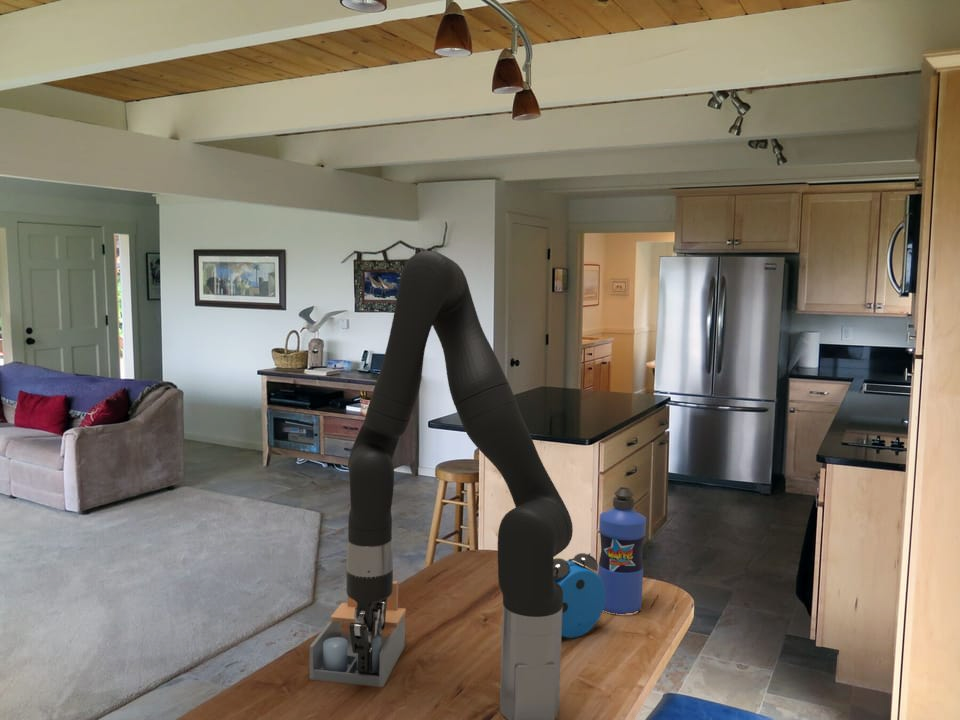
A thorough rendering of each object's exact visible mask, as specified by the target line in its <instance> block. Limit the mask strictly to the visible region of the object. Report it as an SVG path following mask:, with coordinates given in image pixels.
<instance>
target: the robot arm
mask: <svg viewBox="0 0 960 720" xmlns="http://www.w3.org/2000/svg"><path fill="white" fill-rule="evenodd" d="M468 283H469V282H468V280H467V276H466V275H465V272H464V271H463V269H462V268H461V267H460V265H459V264H458V263H456V262H455V261H454V260H453V259H451V258H450V257H447V256H445V255H444V254H442V253H441V252H437V251H433V250H423V251H419V252H417V253H415V254H413V255H412V256H411V257H409V259H408V260H407V261H406V262H405V263H404V265H403V267H402V271H401V274H400V278H399V282H398V286H397V287H398V288H397V293H396V294H397V295H396V300H395V306H394V312H393V318H392V322H391V327H390V332H389V337H388V342H387V344H386V345H387V346H386V348H385V349H386V350H385V353H384V357H383V360H382V363H381V365H380V366H381V367H380V370H379V373H378V375H377V380H376V382H375V385H374V388H373V391H372V394H371V397H370V400H369V402H368V406H367V408H366V413H365V417H364V420H363V423H362V425H361V427H360V429H359V431H358V433H357V436H356V438H355V441H353V442H354V443H353V446H352V448H351V451H350V454H349V458H348V462H347V463H348V464H347V468H348V469H347V470H348V473H349V493H350V496H349V498H350V509H349V512H348V520H347V521H348V523H347V524H348V527H347V529H348V534H347V536H348V538H347V539H348V543H347V549H346V595H347V597H348V596H349V597H350V598H351V599H353V600H355V601H356V602H357V604H358V605H357V607H356V608H355V613H354V618H355V623H349V626H348V628H349V633H350V636H351V643H352V650H353V653H358V672H359V673H361V674H370V673H371V671H372V651H373V638H374V637H376V635H379V636H380V637H381V636H383V632H382V631H384V630H385V628H386V626H385V617H386V607H387V599H388V597H389V596H390V595H391V594H392V591H393V581H394V580H393V579H394V576H393V575H394V549H393V543H392V542H393V541H392V538H393V537H392V532H393V529H392V528H393V520H392V519H393V518H392V506H393V505H392V504H393V496H394V487H395V485H394V484H395V469H394V464H393V458H394V454H395V452H396V449H397V446H398V443H399V440H400V438H401V436H403V435H404V434H405V432H406V430H407V428H408V426H409V423H410V420H411V417H412V414H413V412H414V409H415V405H416V403H417V399H418V396H419V392H420V387H421V383H422V376H423V374H422V373H423V366H424V357H425V351H426V346H427V342H428V338H429V336H430V333H431V329H432V327H433V329H434V332H435V334H436V335H437V337H438V340H439V342H440V346H441V348H442V351H443V355H444V362H445V370H446V377H447V384H448V388H449V393H450V395H451V399H452V401H453V405H454V407H455V409H456V412H457V414H458V417H459V419H460V422H461V424H462V426H463V429H464V431H465V432H466V435H467V436H468V438H469V439H470V440H471V442H472V443H473V444H474V446H475V447H476V448H477V449H478V450H479V451H480V452H481V453H482V454H483V456H485V457H486V458H487V459H488V460H489V461H490V462H491V464H492V465H493V466H494V467H495V468H496V470H498V472H499V474H500V475H501V477H502V478H503V480H504V482H505V484H506V486H507V488H508V490H509V492H510V496H511V498H512V500H513V503H514V506H515V507H514V508H513V509H511V510H509V511H508V512H507V513H506V514H505V515H504V516H503V518H502V519H501V521H500V524H499V527H498V533H497V580H498V585H499V589H500V591H501V594H502V619H501V620H502V621H501V653H500V654H501V655H500V684H499V685H500V692H499V693H500V694H499V695H500V696H499V697H500V698H499V710H500V713H501V714H502V716H503V717H505V719H507V720H555V719H557V717H558V716H559V712H560V691H561V690H560V689H561V687H560V686H561V658H562V657H561V656H562V637H563V636H562V611H563V591H562V588H561V586H560V585H559V584H558V583H557V582H555V581H553V559H554V558H555V557H557V555H559V554H560V553H562V552H563V551H564V550H565V549H566V548H568V546H569V545H570V544H571V541H572V537H573V531H574V530H573V529H574V528H573V527H574V526H573V521H572V518H571V514H570V513H569V511H568V510H569V509H568V508H567V506H566V504H565V502H564V501H563V499H562V497H561V495H560V493H559V491H558V489H557V487H556V485H555V484H554V482H553V481H552V478H551V477H550V475H549V474H548V471H547V469H546V467H545V466H544V464H543V462H542V459H541V457H540V455H539V453H538V450H537V448H536V445H535V443H534V441H533V439H532V436H531V433H530V431H529V430H528V427H527V425H526V422H525V420H524V418H523V416H522V412H521V409H520V407H519V405H518V402H517V400H516V398H515V395H514V392H513V390H512V388H511V385H510V382H509V381H508V378H507V377H506V375H505V372H504V370H503V368H502V366H501V364H500V362H499V359H498V357H497V356H496V354H495V351H494V350H493V348H492V345H491V344H490V342H489V340H488V338H487V336H486V335H485V332H484V330H483V328H482V326H481V322H480V319H479V316H478V314H477V310H476V307H475V304H474V301H473V297H472V294H471V291H470V287H469V284H468ZM378 619H379V620H378ZM368 639H369V640H368Z"/></svg>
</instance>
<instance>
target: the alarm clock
mask: <svg viewBox="0 0 960 720" xmlns="http://www.w3.org/2000/svg"><path fill="white" fill-rule="evenodd" d="M598 568H599V563H598V562H597V560H596V559H595V558H594V557H593V556H592V555H591V553H590V552H589V553H588V554H587V553H586V552H582V553H577V554H576V555H574V556H573V558H569V559H568V560H566V559H563V558H559V557H556V558H555V557H554V558H553V581H555V582H557V583H558V584H559V585H560V586H561V588H562V591H563V611H562V637H564V638H569V639H574V638H577V637H582V636H583V635H585V634H587V633H588V632H589V631H591V629H593V628H594V626H595V625H596V623H597V622H598V621H599V620H600V618H601V615H602V613H603V608H604V604H605V588H604V584H603V582H602V580H601V578H600V577H599V576H598V574H597V573H596V572H597V571H598Z"/></svg>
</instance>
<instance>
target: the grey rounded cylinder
mask: <svg viewBox="0 0 960 720" xmlns="http://www.w3.org/2000/svg"><path fill="white" fill-rule="evenodd" d="M323 670H327V671H337V672H346V671H347V670H348V641H347V640H346V639H344V638H341V637H333V638H329V639H327V640H325V641H324V642H323Z"/></svg>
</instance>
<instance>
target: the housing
mask: <svg viewBox="0 0 960 720" xmlns="http://www.w3.org/2000/svg"><path fill="white" fill-rule="evenodd" d="M405 628H406V617H405V616H404V617H403V619H402V621H401V622H400V624H399V626H398V627H397V628H396V627H393V630H392V631H391V633H390V636H384V635H382V636H381V652H380V670H379V671H377V672H375V673H370V674H361V673H359V672H358V671H357V668H356V665H357V653H353V650H352V643H351V636H350V632H342V622H332V621H331V619H330V620H329V621H328V623H327V624H325V626H324V627H323V629H322V630H321V631H320V633H319V634H318V635H317V636H316V638H315V639H314V640H313V642H312V643H311V644H310V645H309V680H310V681H311V680H312V681H321V682H332V683H339V684H340V683H342V684H348V685H349V684H352V685H358V686H361V685H362V686H370V687H379V688H384V686H385V684H386V683H387V681H388V679H389V676H390V674H391V673H392V671H393V669H394V667H395V665H396V664H397V661H398V660H399V658H400V656H401V654H402V653H403V650H404V649H405V647H406V646H405V642H406V641H405V640H406V639H405V637H406V633H405V631H406V630H405ZM333 637H341V638H344V639H346V640H347V641H348V670H347V671H346V672H337V671H327V670H323V642H324V641H325V640H327V639H329V638H333Z"/></svg>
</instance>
